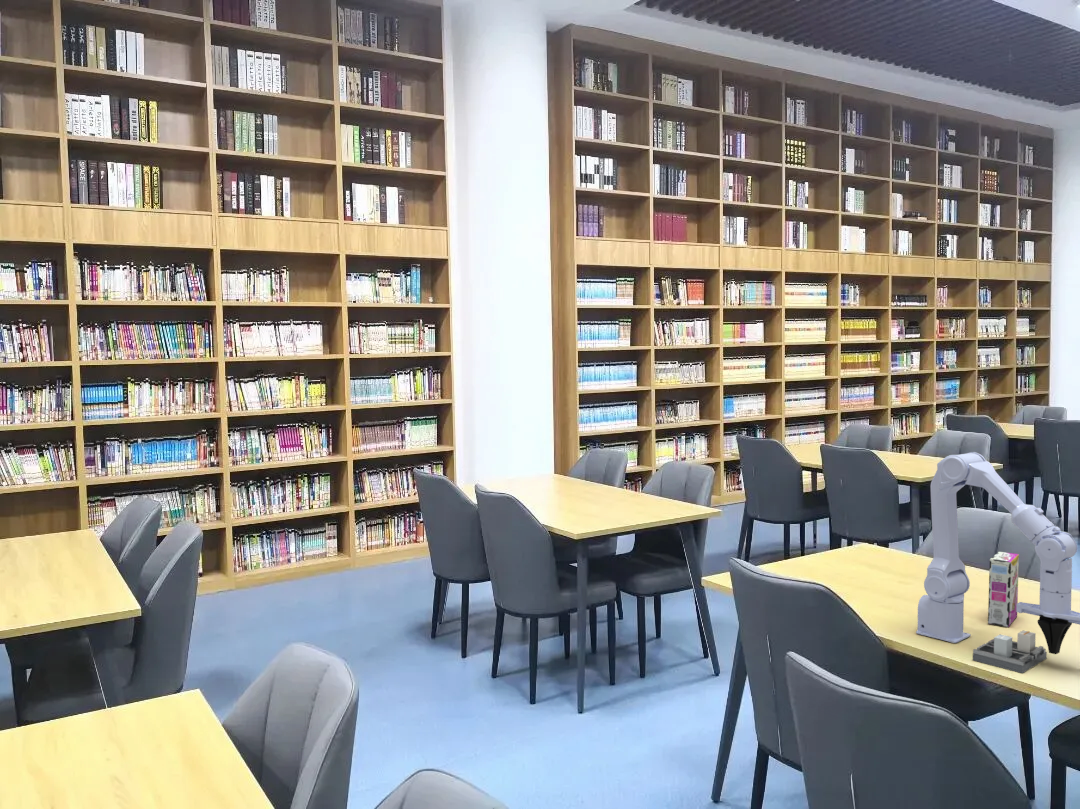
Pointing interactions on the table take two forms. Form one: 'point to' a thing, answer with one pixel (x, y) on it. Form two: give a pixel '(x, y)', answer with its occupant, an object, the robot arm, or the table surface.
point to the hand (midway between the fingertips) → (1054, 652)
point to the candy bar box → (1003, 589)
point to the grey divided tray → (1016, 662)
